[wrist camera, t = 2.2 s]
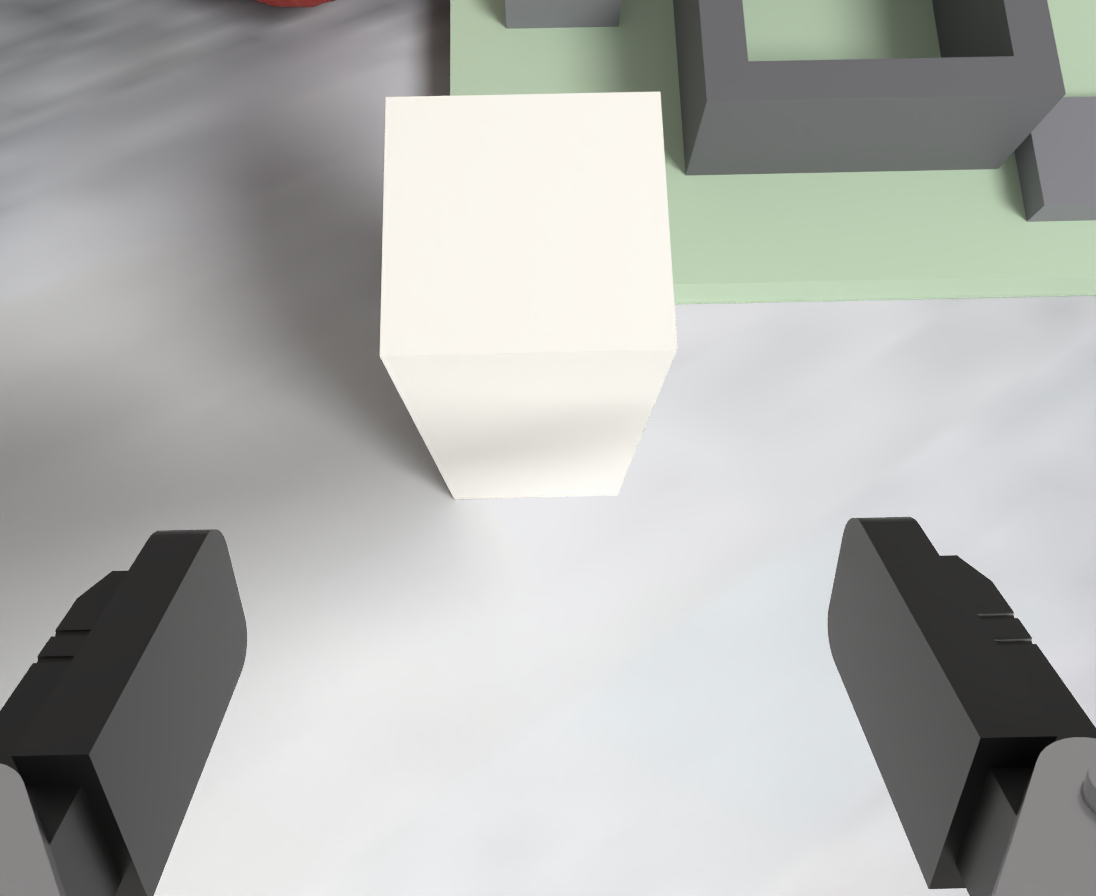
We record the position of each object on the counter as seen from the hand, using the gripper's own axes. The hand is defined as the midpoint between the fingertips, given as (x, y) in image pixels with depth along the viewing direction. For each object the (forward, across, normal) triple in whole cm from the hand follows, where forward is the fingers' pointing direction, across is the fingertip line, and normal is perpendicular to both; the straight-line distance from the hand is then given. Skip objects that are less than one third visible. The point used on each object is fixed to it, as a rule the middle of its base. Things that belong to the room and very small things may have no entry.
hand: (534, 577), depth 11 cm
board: (+17, -8, -4) cm, 19 cm away
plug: (+10, 0, +3) cm, 11 cm away
